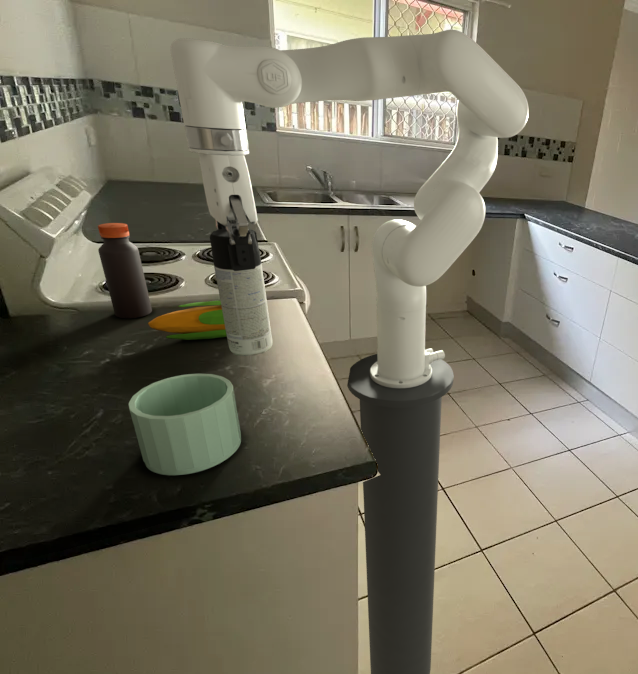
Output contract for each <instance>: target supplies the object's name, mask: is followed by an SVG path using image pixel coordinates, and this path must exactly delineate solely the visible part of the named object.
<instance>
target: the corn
mask: <svg viewBox="0 0 638 674" xmlns="http://www.w3.org/2000/svg"><path fill="white" fill-rule="evenodd" d="M177 307H179V308H186V309H180V310H176V311H172V312H167V313H164V314H162V315H159V316H156V317H155V318H153V319H152V320H150V321H149V322H147V325H148V326H149V328H151V329H154V330H155V331H160V332H166V333H172V334H168V335H166V336H165V339H171V340H181V341H182V340H183V341H185V340H186V341H193V340H194V341H195V340H210V339H220V338H227V334H226V328H225V323H224V318H223V312H222V306H221V301H220V300H211V301H198V302H197V301H196V302H191V303H184V304H180V305H177ZM187 307H188V308H187ZM189 307H190V308H189Z"/></svg>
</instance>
